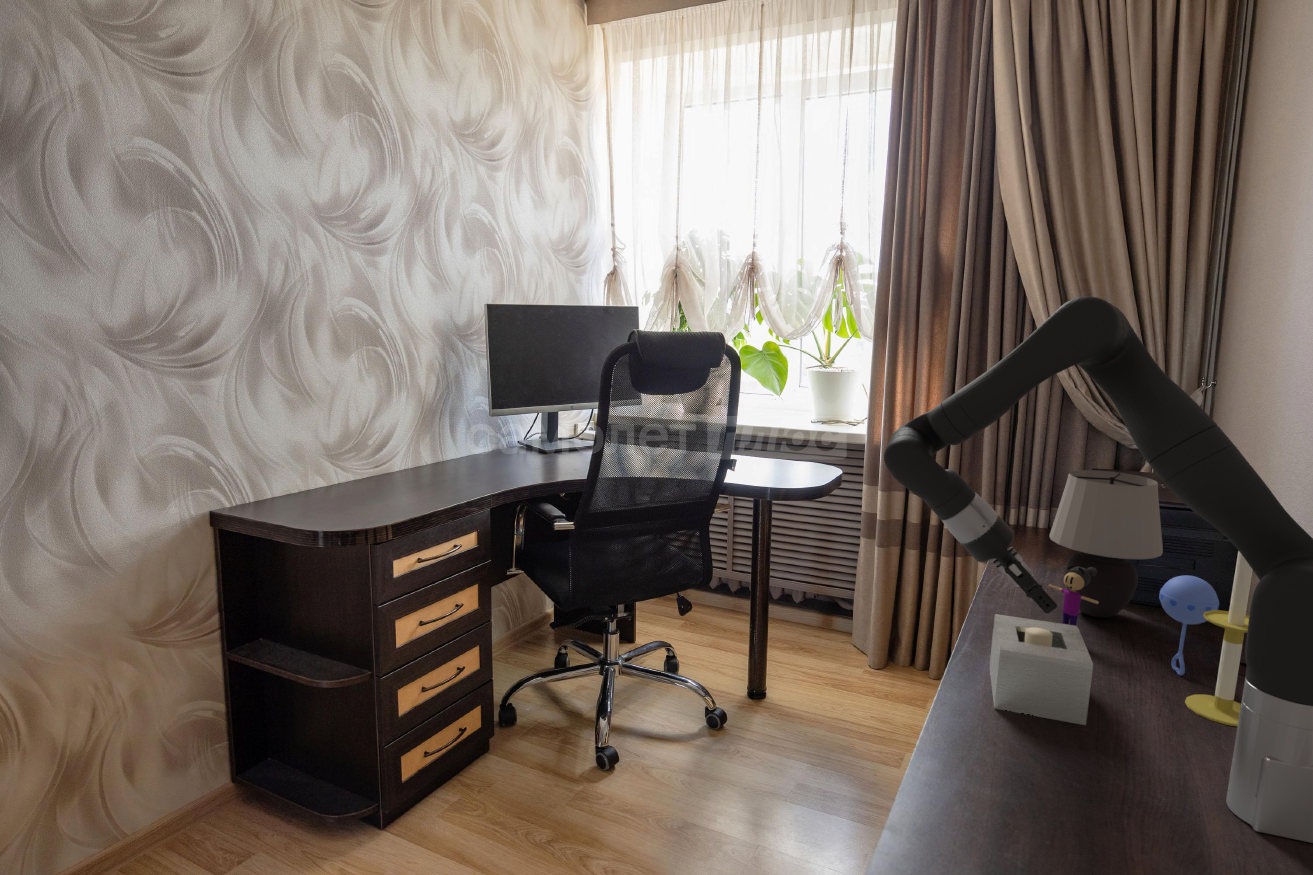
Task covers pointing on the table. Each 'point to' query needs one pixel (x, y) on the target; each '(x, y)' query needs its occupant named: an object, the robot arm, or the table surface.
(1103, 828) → the table surface
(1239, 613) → the candle
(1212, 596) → the baby rattle
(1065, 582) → the toy
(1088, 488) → the table lamp
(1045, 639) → the capsule
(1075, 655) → the white hollow block
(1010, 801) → the table surface
